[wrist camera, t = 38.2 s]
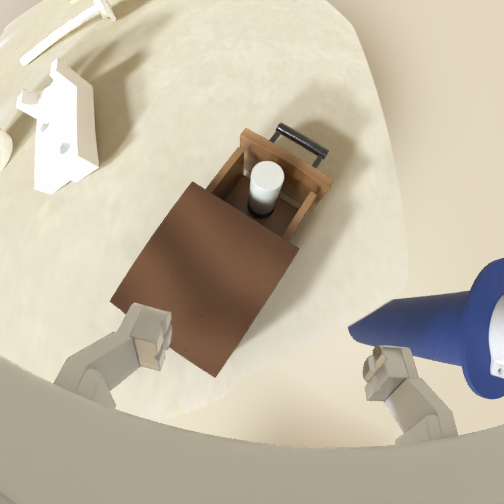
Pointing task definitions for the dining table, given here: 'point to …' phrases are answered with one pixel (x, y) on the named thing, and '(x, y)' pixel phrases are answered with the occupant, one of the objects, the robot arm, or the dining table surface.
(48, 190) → the white cradle stand
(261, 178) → the tube
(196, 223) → the cabinet
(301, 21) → the dining table surface
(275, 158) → the drawer
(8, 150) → the alcohol
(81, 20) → the white block on rod
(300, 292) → the dining table surface
